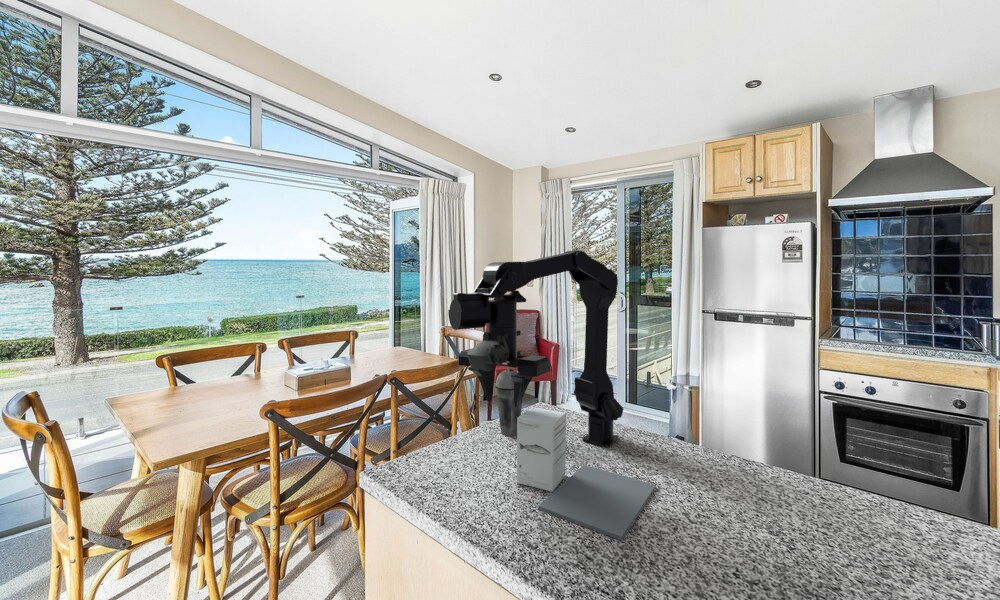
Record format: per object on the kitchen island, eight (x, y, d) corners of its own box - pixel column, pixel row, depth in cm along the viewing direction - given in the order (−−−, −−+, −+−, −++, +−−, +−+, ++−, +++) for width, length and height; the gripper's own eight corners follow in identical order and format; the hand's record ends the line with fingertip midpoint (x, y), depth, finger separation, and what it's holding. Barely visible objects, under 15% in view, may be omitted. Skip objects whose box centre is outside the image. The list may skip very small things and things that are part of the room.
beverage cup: (530, 430, 103) (530, 350, 102) (515, 440, 97) (515, 355, 96) (505, 424, 107) (504, 347, 106) (489, 434, 101) (488, 352, 100)
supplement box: (515, 484, 77) (515, 417, 76) (531, 467, 84) (531, 405, 83) (553, 493, 74) (553, 424, 73) (566, 475, 80) (567, 411, 79)
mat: (583, 467, 83) (583, 464, 83) (655, 488, 75) (655, 484, 75) (538, 509, 69) (538, 506, 69) (621, 540, 61) (621, 536, 61)
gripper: (438, 327, 81) (440, 406, 82) (520, 335, 70) (520, 426, 71) (474, 321, 90) (475, 392, 91) (551, 327, 79) (551, 408, 80)
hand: (502, 403), depth 83 cm, fingers open, 6 cm apart
